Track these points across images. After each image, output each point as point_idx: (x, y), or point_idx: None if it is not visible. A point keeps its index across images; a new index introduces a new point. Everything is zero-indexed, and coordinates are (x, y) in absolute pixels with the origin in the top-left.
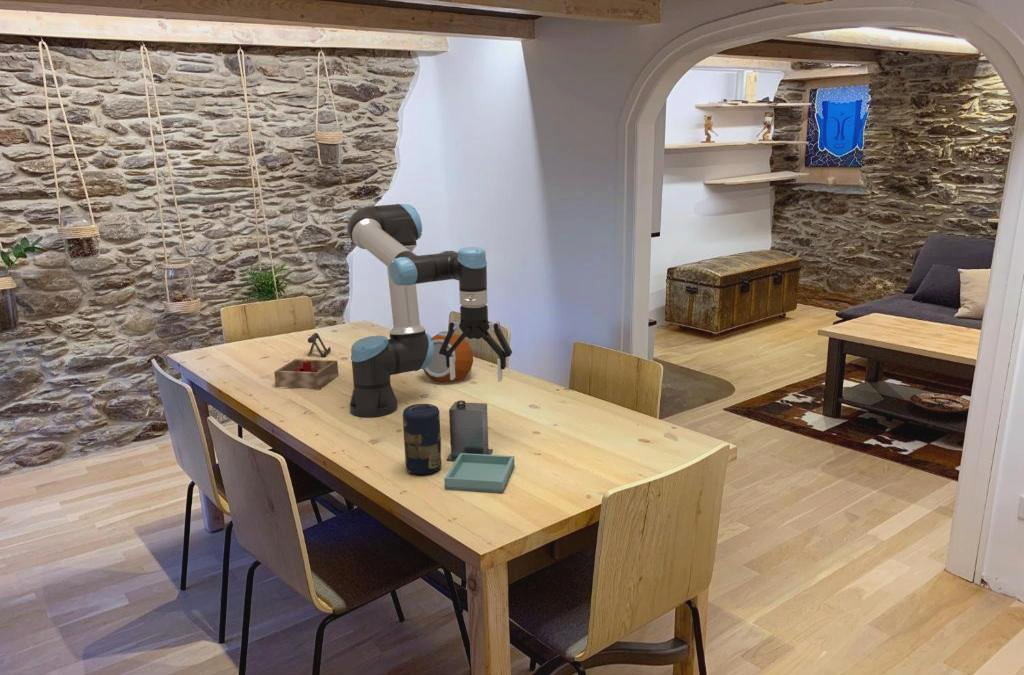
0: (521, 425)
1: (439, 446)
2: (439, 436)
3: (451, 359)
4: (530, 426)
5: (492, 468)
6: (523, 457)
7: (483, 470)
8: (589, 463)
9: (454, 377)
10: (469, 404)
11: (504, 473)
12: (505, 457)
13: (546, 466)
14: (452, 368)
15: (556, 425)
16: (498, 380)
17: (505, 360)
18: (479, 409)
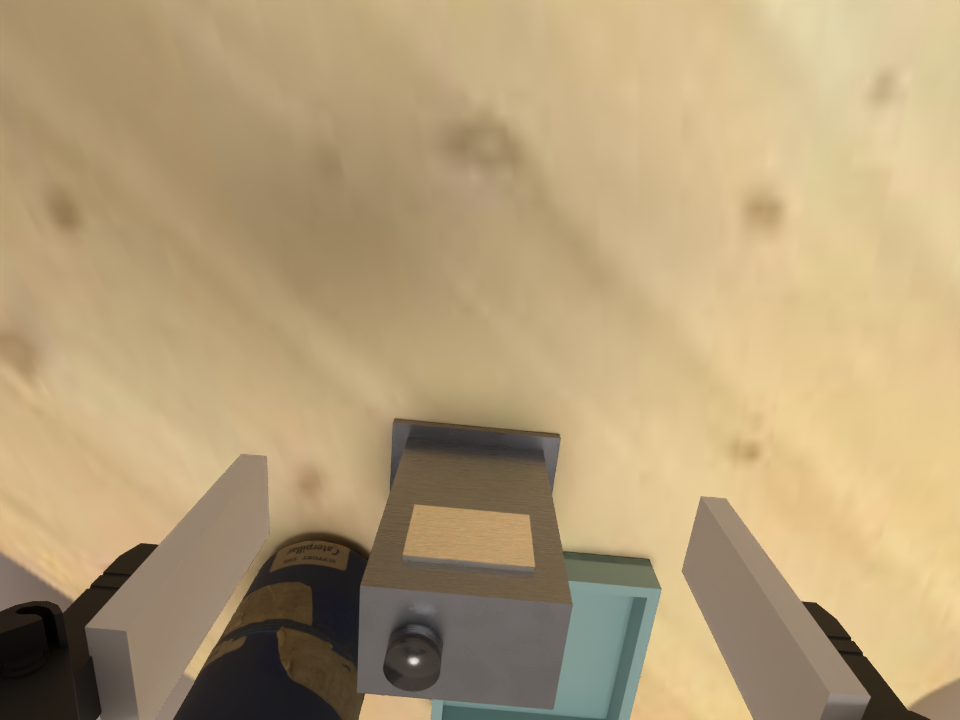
0: (691, 106)
1: None
2: (360, 708)
3: (150, 710)
4: (740, 121)
5: (572, 601)
6: (685, 484)
7: None
8: (936, 526)
9: (265, 489)
10: (462, 622)
11: (626, 708)
12: (626, 594)
13: (767, 553)
14: (218, 611)
15: (887, 98)
16: (690, 579)
17: (884, 694)
18: (535, 691)
